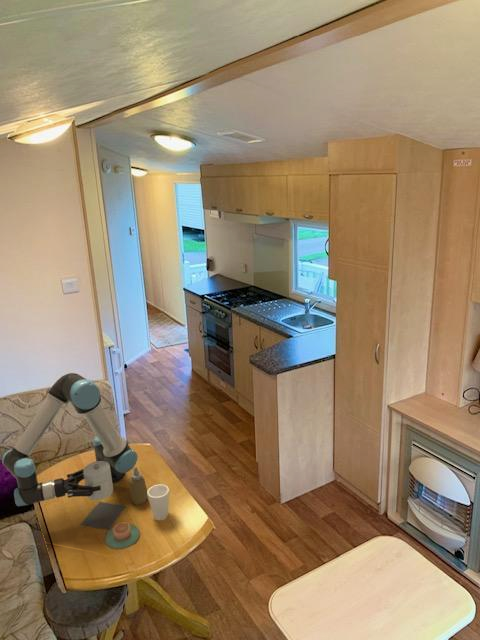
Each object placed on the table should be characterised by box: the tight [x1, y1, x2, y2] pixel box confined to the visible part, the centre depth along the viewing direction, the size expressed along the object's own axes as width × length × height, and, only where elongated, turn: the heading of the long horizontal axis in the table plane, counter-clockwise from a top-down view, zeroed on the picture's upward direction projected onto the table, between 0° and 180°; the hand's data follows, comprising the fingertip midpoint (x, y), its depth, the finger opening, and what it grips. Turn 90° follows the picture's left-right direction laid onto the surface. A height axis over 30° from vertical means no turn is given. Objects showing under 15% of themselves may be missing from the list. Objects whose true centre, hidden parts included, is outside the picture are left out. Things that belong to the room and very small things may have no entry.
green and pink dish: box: [104, 521, 141, 550], centre depth 206 cm, size 14×14×5 cm
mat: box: [79, 501, 127, 531], centre depth 220 cm, size 16×14×1 cm
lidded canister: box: [83, 460, 114, 501], centre depth 214 cm, size 11×11×14 cm
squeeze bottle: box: [129, 466, 148, 506], centre depth 226 cm, size 8×8×18 cm
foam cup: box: [147, 483, 170, 522], centre depth 217 cm, size 10×9×13 cm
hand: (107, 476), depth 216 cm, fingers closed on lidded canister, 11 cm apart
